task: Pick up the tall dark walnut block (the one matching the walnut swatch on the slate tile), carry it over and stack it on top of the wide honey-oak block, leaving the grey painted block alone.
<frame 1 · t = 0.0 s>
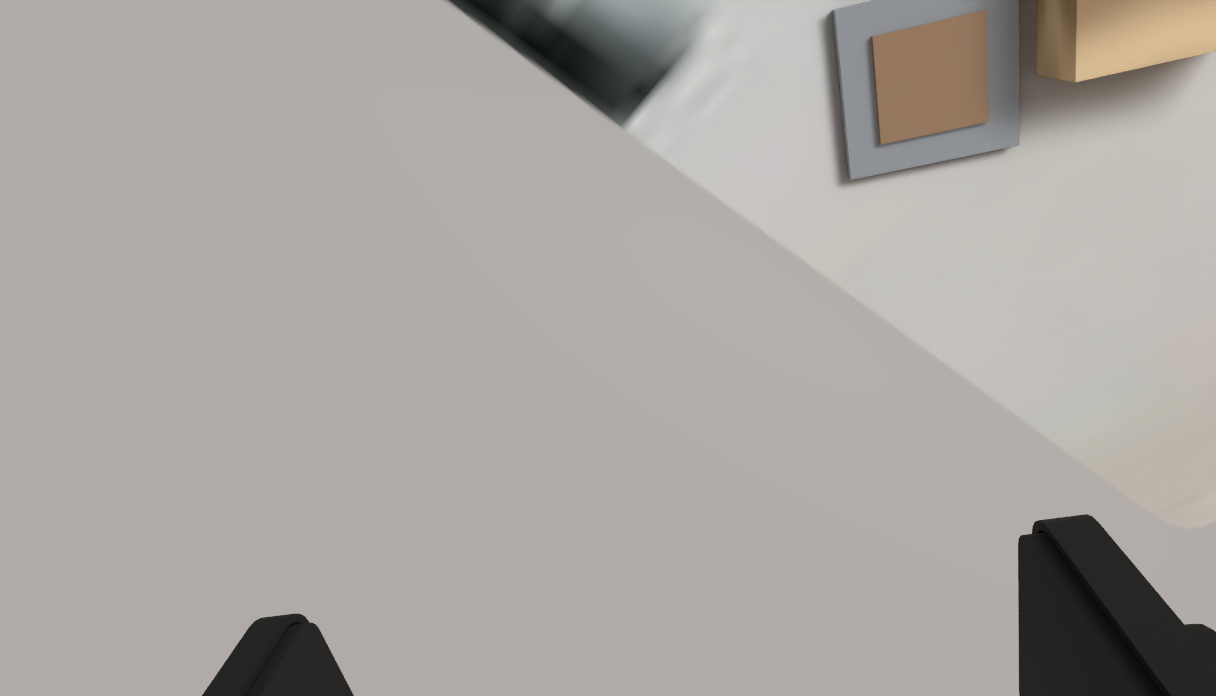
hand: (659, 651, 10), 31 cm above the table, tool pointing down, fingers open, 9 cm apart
swatch tile: (925, 78, 35), on the table
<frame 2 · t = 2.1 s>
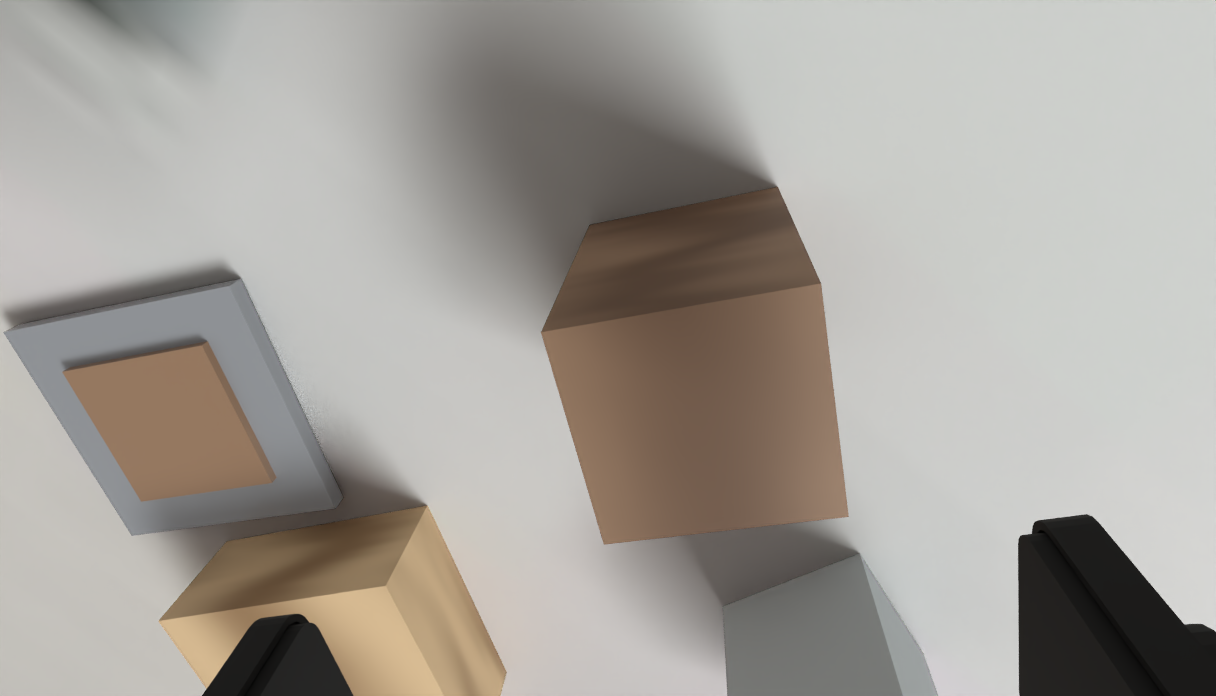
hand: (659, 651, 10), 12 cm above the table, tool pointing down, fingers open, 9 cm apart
grey block: (822, 628, 25), on the table
oak base: (373, 602, 27), on the table
swatch tile: (187, 414, 24), on the table
walnut block: (698, 293, 20), on the table
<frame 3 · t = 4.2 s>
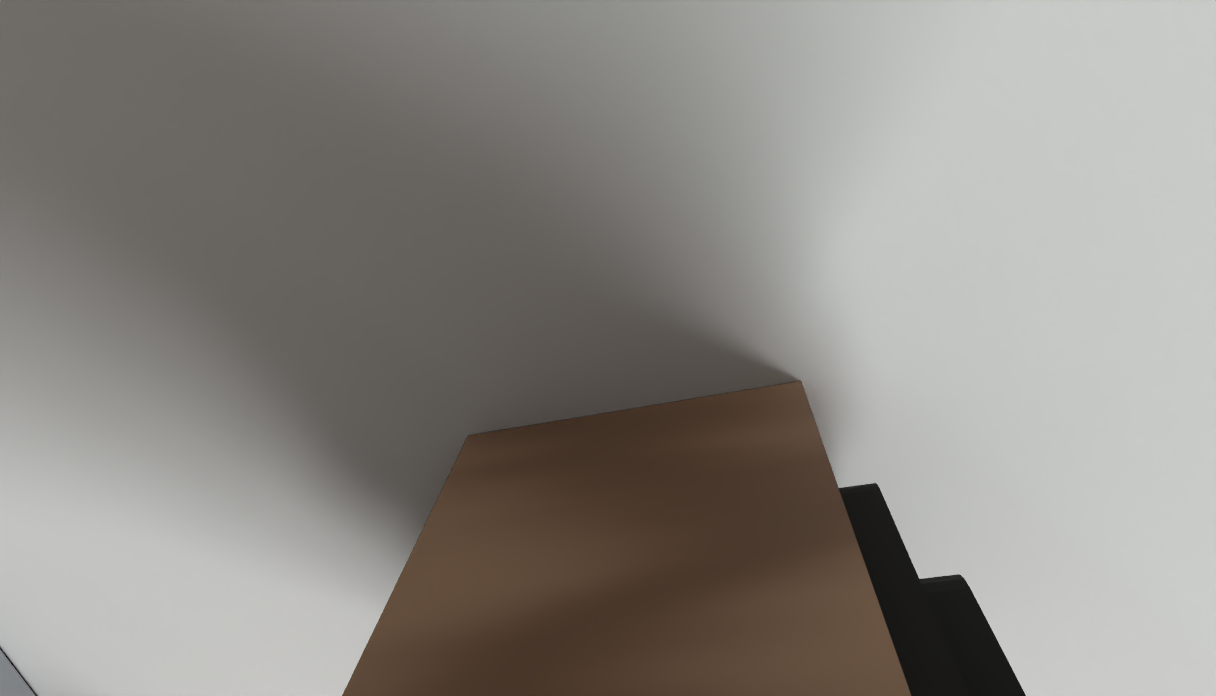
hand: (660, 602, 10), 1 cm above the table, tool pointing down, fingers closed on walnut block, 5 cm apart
walnut block: (661, 543, 12), on the table, touching gripper
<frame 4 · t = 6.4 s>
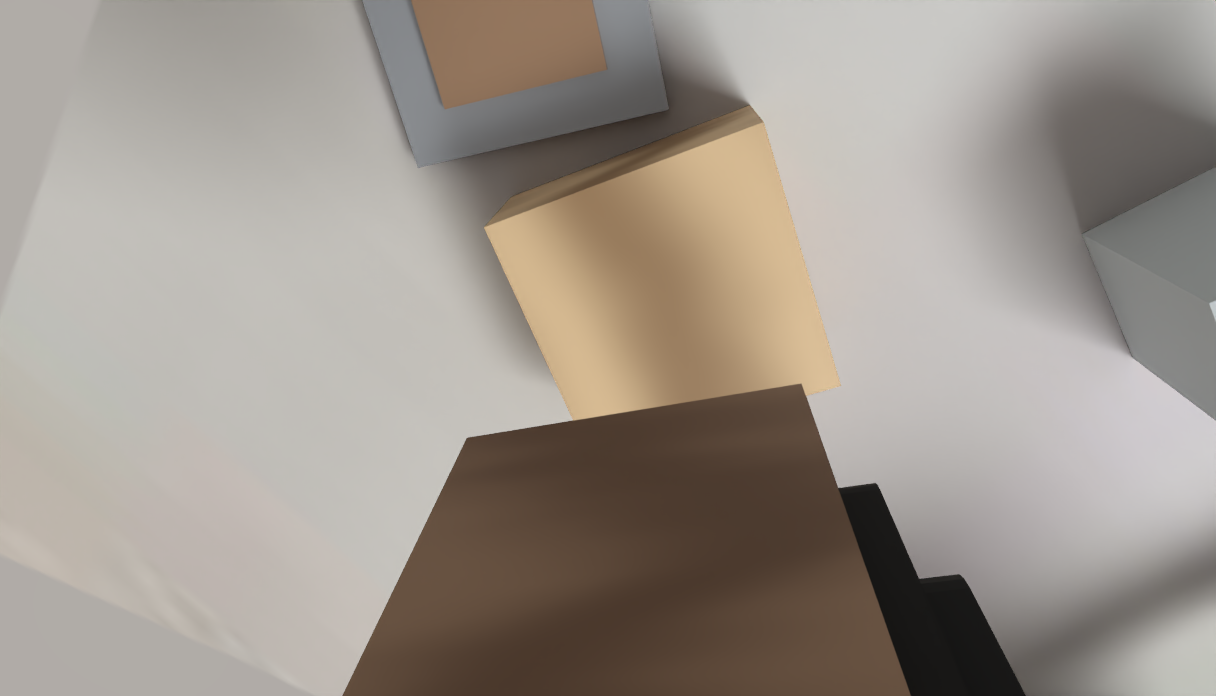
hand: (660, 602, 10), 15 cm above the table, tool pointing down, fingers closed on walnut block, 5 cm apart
grey block: (1190, 258, 23), on the table
oak base: (668, 264, 24), on the table
walnut block: (661, 545, 12), point 14 cm above the table, touching gripper
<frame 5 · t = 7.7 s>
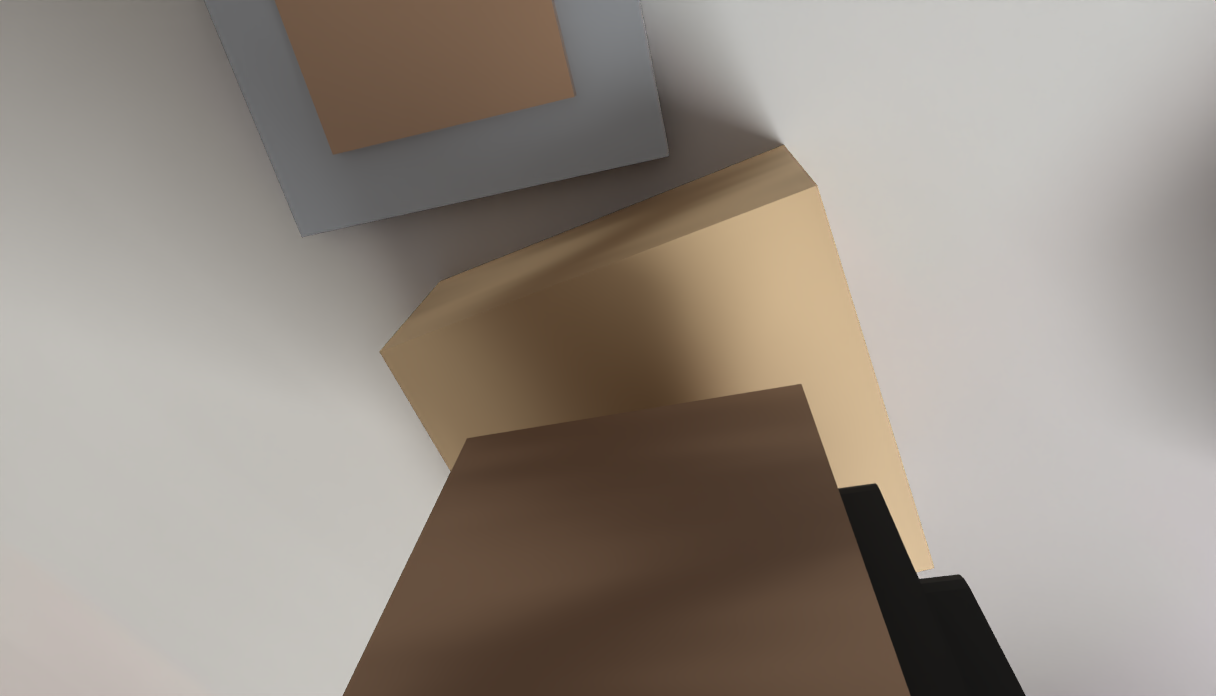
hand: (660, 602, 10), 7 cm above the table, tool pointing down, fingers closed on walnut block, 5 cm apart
oak base: (668, 368, 17), on the table
walnut block: (661, 546, 12), point 6 cm above the table, touching gripper
when the fingers open (6 cm above the table, at t = 8.7 s): walnut block drops 1 cm, resting on oak base.
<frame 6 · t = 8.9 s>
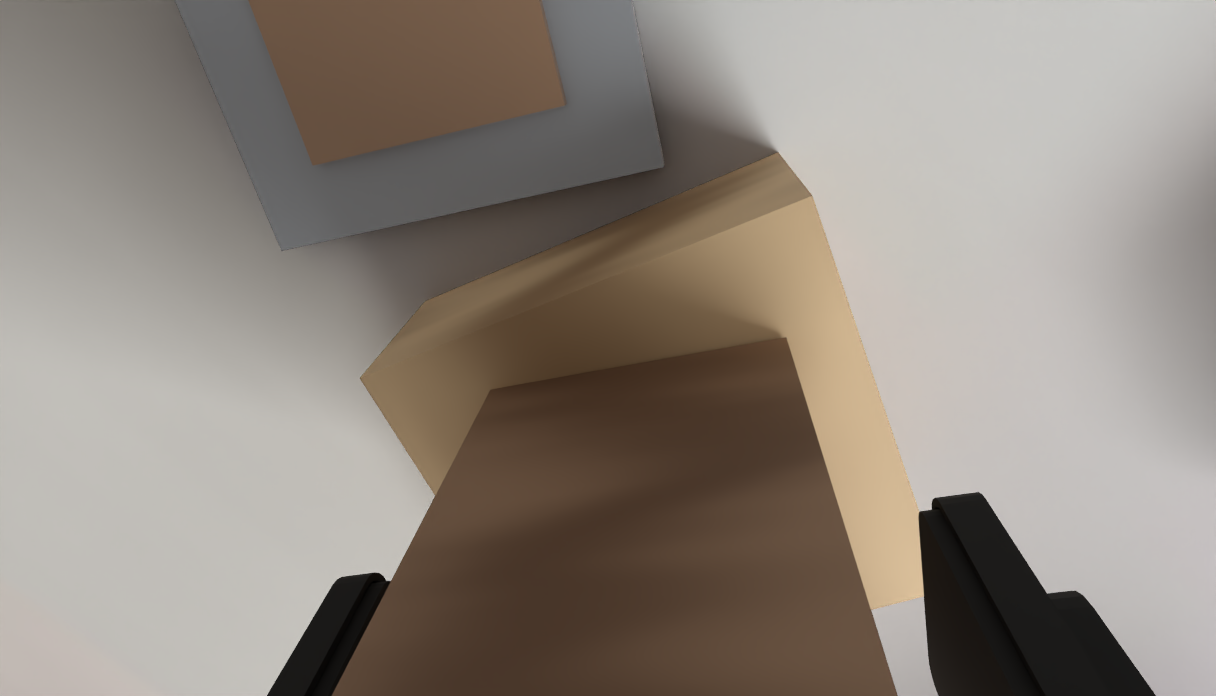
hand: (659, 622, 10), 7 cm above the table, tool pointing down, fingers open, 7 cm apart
oak base: (664, 384, 17), on the table, touching walnut block
walnut block: (663, 488, 13), point 4 cm above the table, touching oak base
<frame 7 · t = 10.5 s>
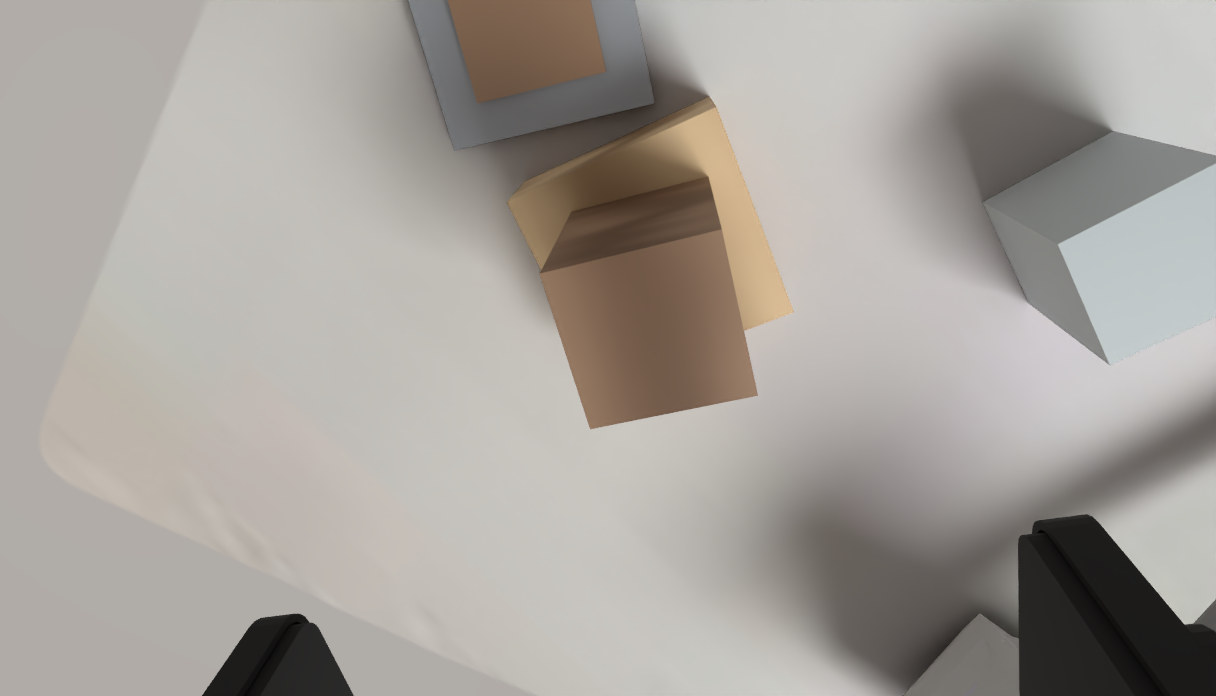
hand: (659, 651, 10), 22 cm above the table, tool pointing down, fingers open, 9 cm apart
grey block: (1068, 221, 29), on the table
hammer: (1156, 538, 35), on the table
oak base: (653, 229, 30), on the table, touching walnut block
swatch tile: (526, 16, 27), on the table
walnut block: (655, 260, 26), point 4 cm above the table, touching oak base
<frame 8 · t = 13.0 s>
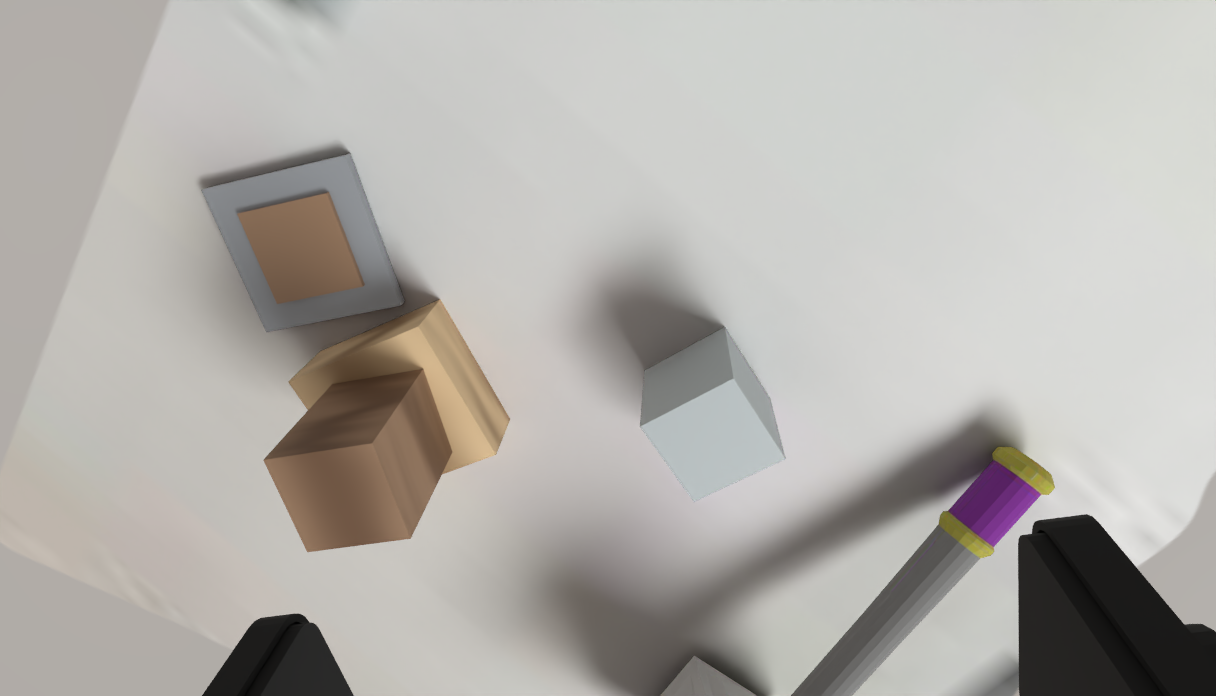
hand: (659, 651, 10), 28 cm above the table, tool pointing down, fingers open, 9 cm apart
grey block: (707, 384, 40), on the table
hammer: (822, 601, 46), on the table
oak base: (417, 383, 41), on the table
swatch tile: (308, 245, 38), on the table
walnut block: (393, 418, 38), point 4 cm above the table
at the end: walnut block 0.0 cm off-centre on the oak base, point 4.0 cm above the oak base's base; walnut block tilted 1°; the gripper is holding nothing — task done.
